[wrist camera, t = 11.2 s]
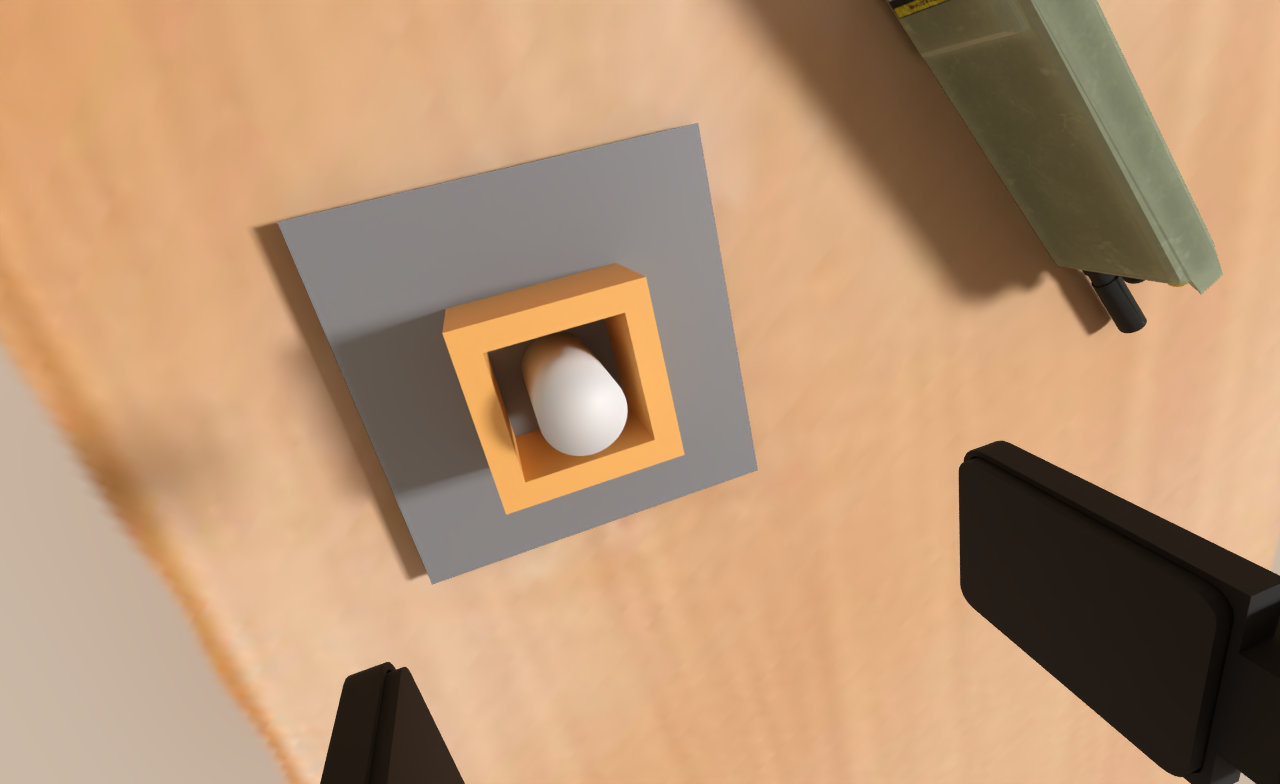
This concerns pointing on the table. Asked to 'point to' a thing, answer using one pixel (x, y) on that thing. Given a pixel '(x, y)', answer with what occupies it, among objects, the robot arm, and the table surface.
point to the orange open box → (509, 318)
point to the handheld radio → (1068, 139)
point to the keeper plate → (541, 367)
